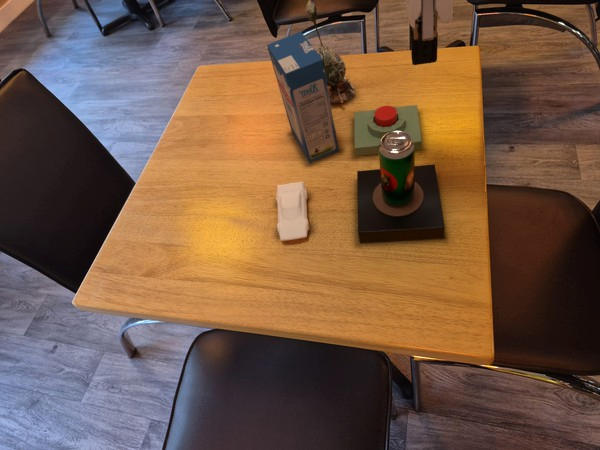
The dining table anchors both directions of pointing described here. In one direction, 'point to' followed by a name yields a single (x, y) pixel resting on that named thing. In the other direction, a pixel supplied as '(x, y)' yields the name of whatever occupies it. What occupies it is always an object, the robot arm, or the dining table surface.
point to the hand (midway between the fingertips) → (424, 60)
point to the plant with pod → (332, 66)
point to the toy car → (292, 211)
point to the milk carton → (304, 95)
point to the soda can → (397, 167)
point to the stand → (399, 209)
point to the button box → (384, 129)
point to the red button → (385, 116)
